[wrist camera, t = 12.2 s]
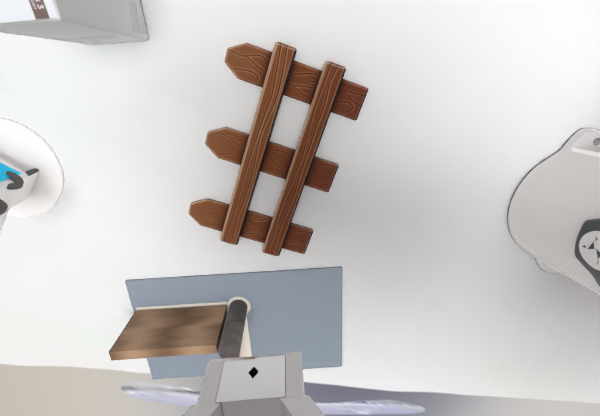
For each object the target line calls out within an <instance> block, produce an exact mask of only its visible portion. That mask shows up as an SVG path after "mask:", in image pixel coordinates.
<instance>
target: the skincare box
mask: <svg viewBox="0 0 600 416" xmlns="http://www.w3.org/2000/svg"><path fill="white" fill-rule="evenodd" d="M0 32H3V33H9V34H16V35H26V36H32V37H39V38H46V39H53V40H60V41H67V42H74V43H81V44H88V45H100V44H112V43H124V42H135V41H147V40H148V34H147V29H146V25H145V20H144V16H143V12H142V7H141V3H140V0H0Z"/></svg>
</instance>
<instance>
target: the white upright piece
mask: <svg viewBox="0 0 600 416" xmlns="http://www.w3.org/2000/svg"><path fill="white" fill-rule="evenodd" d="M63 188H64V174H63V169H62V166H61V163H60V161H59V159H58V157H57V155H56V153H55V152H54V150H53V149H52V148H51V147H50V145H49V144H48V143H47V142H46V141H45V140H44V139H43V138H42V137H41V136H40V135H38V134H37V133H36V132H35V131H33V130H32V129H30V128H28V127H26V126H25V125H23V124H20V123H18V122H15V121H12V120H9V119H4V118H0V233H1V230H2V227H3V225H4V222H5V219H6V217H7V216H11V217H19V218H27V217H34V216H38V215H40V214H43V213H45V212H46V211H48V210H50V209H51V208H52V207H54V206H55V205H56V203H57V202H58V201H59V199H60V197H61V195H62V192H63Z"/></svg>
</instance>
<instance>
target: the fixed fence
mask: <svg viewBox="0 0 600 416" xmlns="http://www.w3.org/2000/svg"><path fill="white" fill-rule="evenodd" d="M247 308H248V306H247V304H246V302H245V301H243V300H234V301H232V302H231V303H230V306H229V310H228V312H227V305H225V306H209V307H193V308H178V309H162V310H146V311H135V313H134V314H133V316H132V317H131V319H130V320H129V322H128V324H127V325H126V327H125V328H124V330H123V331H122V333H121V334H120V336H119V337H118V339H117V340H116V342H115V343H114V345H113V346H112V348H111V349H110V351H109V354H110V357H111V360H123V359H137V358H152V357H167V356H182V355H197V354H212V353H218V354H219V356H220V357H221V358H222V359H223V358H234V357H238V356H239V355H240V349H241V343H242V338H243V332H244V326H245V320H246V314H247ZM227 313H228V314H227ZM226 317H227V318H226ZM225 321H226V322H225ZM224 325H225V326H224ZM223 329H224V330H223ZM222 333H223V334H222ZM221 337H222V338H221ZM220 341H221V342H220ZM219 345H220V346H219ZM218 349H219V350H218Z"/></svg>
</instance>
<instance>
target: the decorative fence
mask: <svg viewBox="0 0 600 416" xmlns="http://www.w3.org/2000/svg"><path fill="white" fill-rule="evenodd" d="M295 54H296V49H295V48H293V47H291V46H288V45H285V44H283V43H280V42H276V43H275V46H274V50H273V52H270V51H267V50H265V49H262V48H259V47H257V46H254V45H251V44H249V43H244V44H241V45H237V46H233V47H230V48H228V49H227V53H226V58H225V63H226V64H227V66H228V67H229V68H230V69H231V71H232V72H233V73H234V74H235V76H236V77H237V78H238V79H241V80H243V81H246V82H249V83H252V84H255V85H257V86H260V87H263V89H262V92H261V96H260V99H259V103H258V106H257V110H256V113H255V117H254V121H253V124H252V128H251V131H250V135H248V134H245V133H242V132H239V131H236V130H233V129H230V128H227V127H224V128H221V129H217V130H213V131H209V132H208V133H207V138H206V142H205V144H206V145H207V147H208V148H209V149H210V150H211V151H212V152H213V153H214V154H215V155H216V156H217V157H218V158H220V159H223V160H227V161H230V162H233V163H236V164H239V165H241V167H240V170H239V174H238V177H237V181H236V184H235V188H234V191H233V195H232V199H231V202H230V205H229V204H225V203H222V202H218V201H215V200H212V199H203V200H199V201H195V202H192V203H191V205H190V209H189V215H191V216H192V217H193V218H194V219H195V220H196V221H197V222H198V223H199V224H200V225H201V226H205V227H208V228H212V229H216V230H219V231H222V234H221V238H220V240H221V241H224V242H227V243H231V244H235V245H236V244H238V241H239V238H240V236H241V237H244V238H248V239H251V240H255V241H259V242H262V243H264V246H263V249H262V251H263V252H264V253H267V254H271V255H275V256H279V254H280V252H281V249H282V248H284V249H287V250H291V251H294V252H298V253H302V254H304V253H305V251H306V248H307V246H308V243H309V241H310V238H311V235H312V233H313V230H312V229H310V228H307V227H303V226H300V225H296V224H293V223H291V221H292V218H293V215H294V213H295V210H296V207H297V204H298V201H299V199H300V196H301V193H302V190H303V188H304V185H306V186H309V187H312V188H316V189H319V190H322V191H325V192H329V189H330V187H331V184H332V181H333V179H334V176H335V174H336V171H337V169H338V164H336V163H333V162H330V161H327V160H324V159H321V158H318V157H315V154H316V151H317V149H318V146H319V143H320V140H321V137H322V135H323V132H324V129H325V126H326V124H327V121H328V118H329V115H330V112H333V113H336V114H339V115H342V116H344V117H347V118H350V119H353V120H357V117H358V115H359V112H360V109H361V107H362V104H363V102H364V99H365V97H366V94H367V91H368V88H366V87H363V86H360V85H358V84H355V83H352V82H350V81H347V80H344V79H343V76H344V73H345V71H346V69H345V67H343V66H340V65H338V64H335V63H333V62H330V61H327V62H325V65H324V68H323V71H321V70H318V69H315V68H313V67H310V66H307V65H305V64H302V63H299V62H297V61H294V57H295ZM283 95H285V96H288V97H291V98H294V99H297V100H299V101H302V102H305V103H308V104H311V107H310V110H309V112H308V115H307V118H306V121H305V124H304V127H303V130H302V133H301V136H300V139H299V142H298V145H297V148H296V150H294V149H291V148H288V147H285V146H282V145H279V144H276V143H273V142H270V141H269V139H270V136H271V133H272V129H273V126H274V123H275V120H276V116H277V113H278V110H279V106H280V103H281V100H282V97H283ZM260 171H262V172H265V173H268V174H271V175H274V176H277V177H281V178H284V179H286V181H285V184H284V187H283V190H282V193H281V196H280V199H279V202H278V205H277V208H276V211H275V214H274V216H273V217H269V216H266V215H262V214H259V213H256V212H252V211H249V210H248V208H249V205H250V202H251V198H252V195H253V192H254V189H255V185H256V182H257V179H258V175H259V172H260Z"/></svg>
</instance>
